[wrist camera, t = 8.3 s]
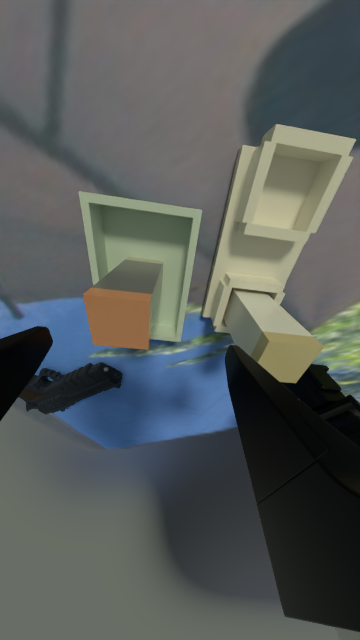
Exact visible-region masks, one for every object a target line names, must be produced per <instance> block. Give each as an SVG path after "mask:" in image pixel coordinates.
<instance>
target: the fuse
mask: <svg viewBox="0 0 360 640" xmlns="http://www.w3.org/2000/svg"><path fill="white" fill-rule="evenodd" d="M223 318H224V320H225V322H226V325H227V327H228V330H229V332H230V334H231V337H232V339H233V342H234V344H235V345H237V346H239V347H240V348H241V349H242V350H244V351H245V352H246V353H247V354H248V355H249V356H251V357H252V358H253V359H254V360H255V361H256V362H257V363H259V364H260V365H261V366H262V367H263V368H264V369H266V370H267V371H268V372H269V373H270V374H271V375H272V376H274V377H275V378H276V379H277V380H278V381H279V382H287V383H297V381H298V380H299V379H300V377H301V376H302V375H303V373H304V372H305V371H306V370H307V368H308V367H309V366H310V364H311V363H312V362H313V361H314V359H315V358H316V357H317V355H318V354H319V353H320V351H321V350H322V349H323V348H324V346H323V345H322V344H321V343H320V342H319V341H318V340H317V339H315V338H314V337H313V336H312V335H311V334H310V333H309V332H308V331H307V330H306V329H305V328H304V327H302V326H301V325H300V324H299V323H298V322H297V321H296V320H295V319H294V318H293V317H292V316H291V315H289V314H288V313H287V312H286V311H285V310H284V309H283V308H282V307H281V306H280V305H279V304H278V303H276V302H275V301H274V300H273V299H272V298H271V297H270V296H269V295H268V294H267V293H266V292H265V291H257V290H249V289H241V288H232V290H231V293H230V296H229V299H228V303H227V306H226V309H225V312H224V316H223Z"/></svg>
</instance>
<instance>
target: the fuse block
mask: <svg viewBox="0 0 360 640" xmlns="http://www.w3.org/2000/svg"><path fill="white" fill-rule="evenodd" d="M355 141H356V139H352V138H347V137H342V136H336V135H331V134H326V133H321V132H316V131H310V130H305V129H300V128H295V127H290V126H284V125H279V124H276V125H275V126H274V127H272V128H271V129H270V130H269V131H268V132H267V133H266V134H265V135H264V136H263V138H262V142H261V145H260V146H258V147H253V146H247V145H242V146H241V147H240V149H239V151H238V155H237V160H236V164H235V169H234V173H233V177H232V182H231V186H230V191H229V195H228V200H227V204H226V208H225V213H224V217H223V222H222V226H221V231H220V235H219V239H218V244H217V248H216V253H215V257H214V261H213V266H212V270H211V275H210V279H209V284H208V288H207V292H206V297H205V301H204V306H203V310H202V316H203V317H208V318H211V320H212V323H213V327H214V330H215V332H222V333H230V332H229V330H228V327H227V325H226V322H225V320H224V318H223V316H224V312H225V309H226V306H227V303H228V299H229V296H230V293H231V290H232V288H241V289H249V290H257V291H265V292H266V293H267V294H268V295H269V296H270V297H271V298H272V299H273V300H274V301H275V302H276V303H278V304H279V305H280V304H281V302H282V300H283V298H284V296H285V293H283V292H282V291H283V289H284V287H285V283H286V281H287V279H288V277H289V275H290V273H291V271H292V269H293V267H294V265H295V262H296V260H297V258H298V256H299V254H300V252H301V250H302V248H303V246H304V244H305V243H306V242H307V240H308V238H309V236H310V233H316V231H317V229H318V227H319V225H320V223H321V221H322V219H323V217H324V215H325V213H326V211H327V209H328V207H329V205H330V203H331V201H332V199H333V197H334V195H335V193H336V191H337V189H338V187H339V185H340V183H341V181H342V179H343V177H344V175H345V173H346V171H347V169H348V167H349V165H350V163H351V161H352V159H353V157H350V156H348V155H349V153H350V151H351V149H352V147H353V145H354V143H355Z"/></svg>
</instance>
